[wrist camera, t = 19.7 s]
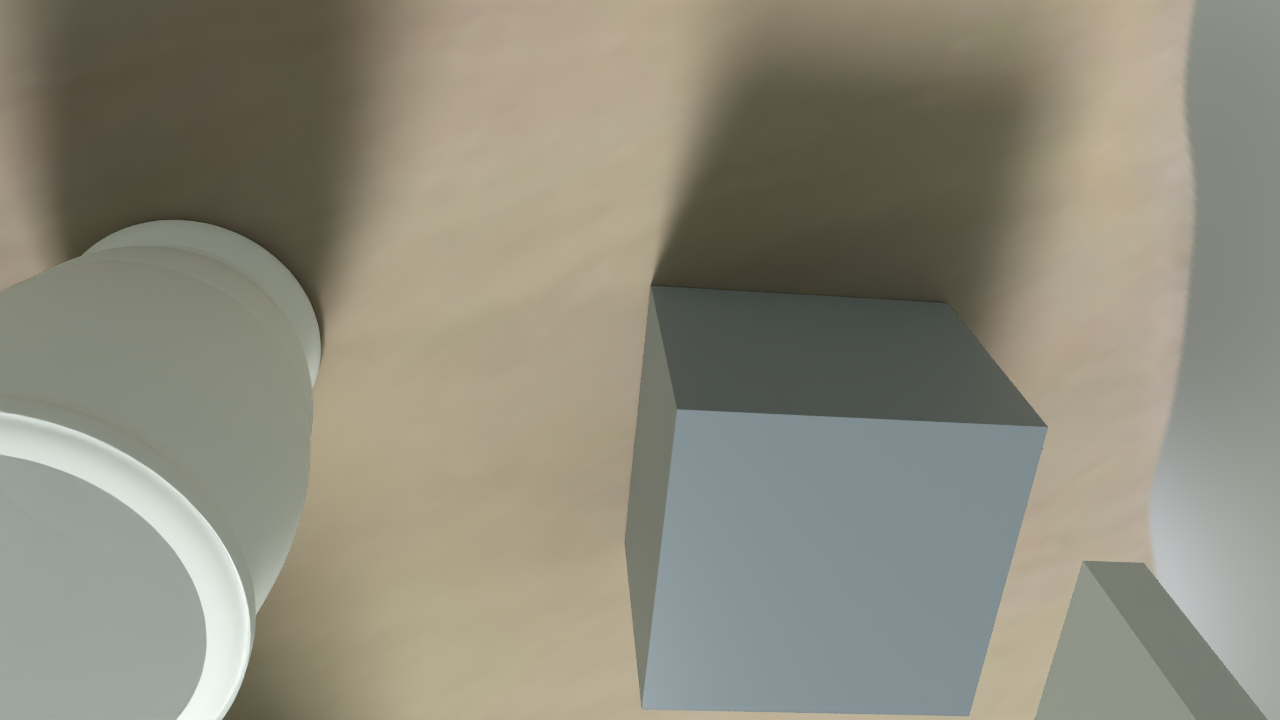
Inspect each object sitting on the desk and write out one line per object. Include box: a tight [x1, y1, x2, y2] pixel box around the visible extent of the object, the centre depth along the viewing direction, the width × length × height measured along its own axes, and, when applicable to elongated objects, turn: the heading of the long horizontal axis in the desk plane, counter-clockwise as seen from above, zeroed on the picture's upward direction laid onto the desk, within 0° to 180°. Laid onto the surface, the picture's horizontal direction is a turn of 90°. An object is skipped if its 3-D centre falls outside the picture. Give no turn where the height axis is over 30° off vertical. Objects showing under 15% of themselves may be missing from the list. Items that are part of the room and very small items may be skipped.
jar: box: [0, 220, 321, 720], centre depth 31 cm, size 11×10×15 cm
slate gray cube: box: [625, 286, 1048, 716], centre depth 37 cm, size 10×10×9 cm
